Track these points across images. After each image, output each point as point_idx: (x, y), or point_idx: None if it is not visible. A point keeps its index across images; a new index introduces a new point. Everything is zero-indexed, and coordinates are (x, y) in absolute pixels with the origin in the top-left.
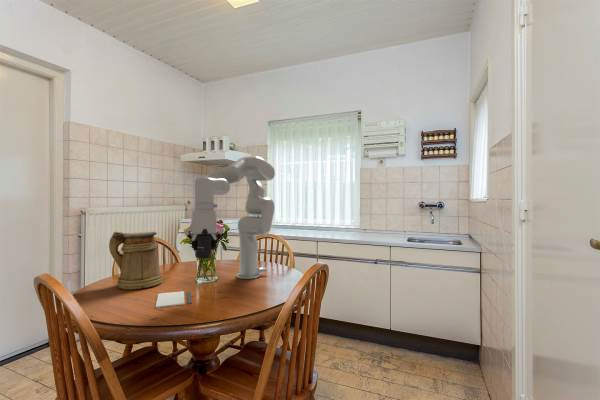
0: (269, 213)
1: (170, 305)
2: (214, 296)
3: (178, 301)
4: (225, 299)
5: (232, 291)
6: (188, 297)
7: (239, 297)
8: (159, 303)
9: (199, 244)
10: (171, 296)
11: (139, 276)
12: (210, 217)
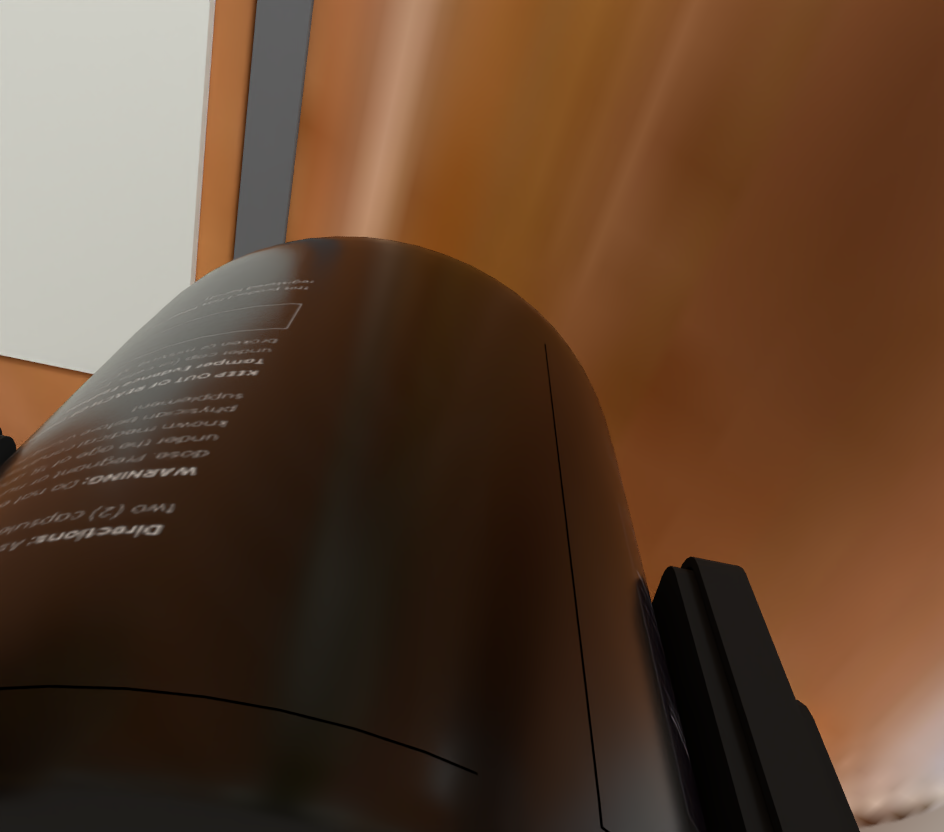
0: None
1: (41, 359)
2: (561, 298)
3: (123, 300)
4: (626, 462)
5: (850, 228)
6: (252, 194)
7: (786, 483)
8: None
9: None
10: (37, 40)
11: None
12: None
